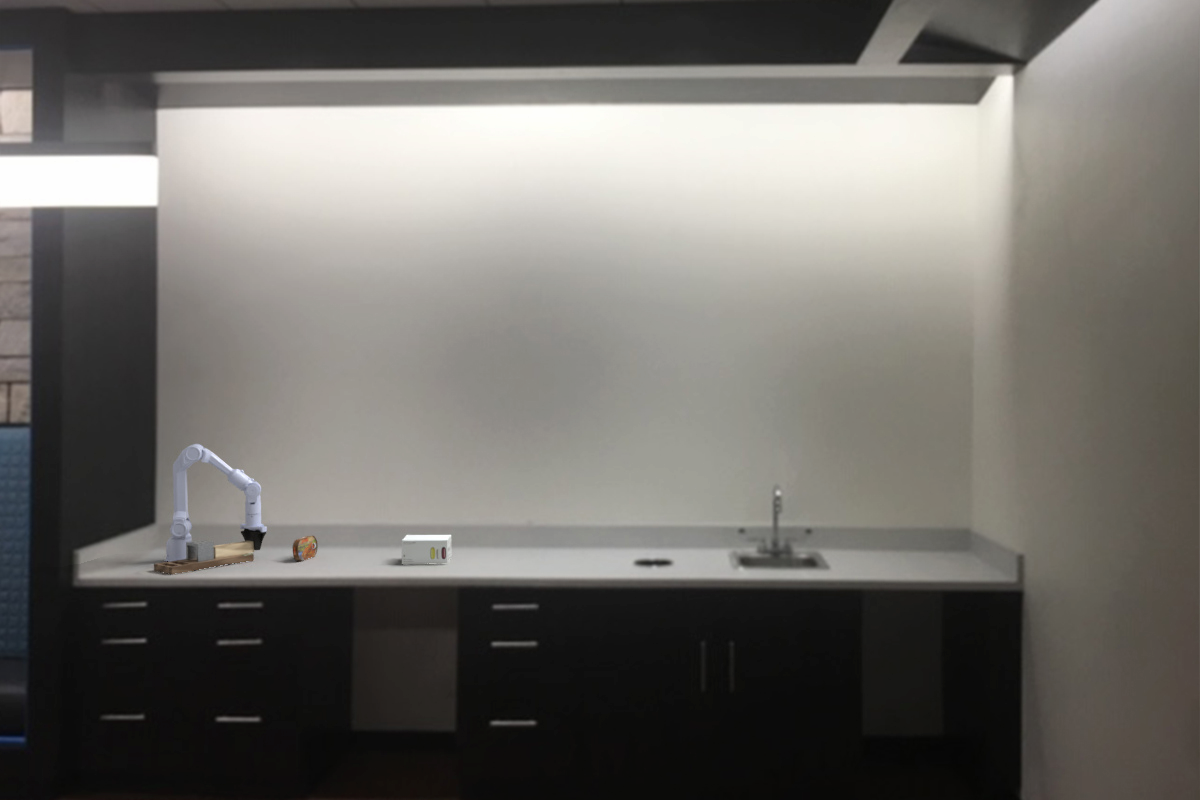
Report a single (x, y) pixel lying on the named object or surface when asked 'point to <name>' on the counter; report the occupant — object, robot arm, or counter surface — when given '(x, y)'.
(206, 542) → the metal u-shaped holder
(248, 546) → the ash block
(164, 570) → the walnut deck
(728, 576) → the counter surface
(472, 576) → the counter surface
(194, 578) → the counter surface
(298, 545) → the tin
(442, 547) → the supplement box
